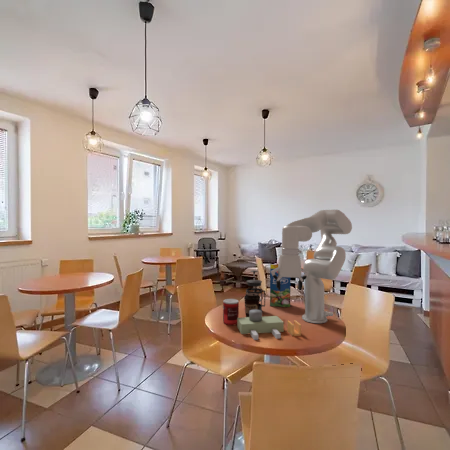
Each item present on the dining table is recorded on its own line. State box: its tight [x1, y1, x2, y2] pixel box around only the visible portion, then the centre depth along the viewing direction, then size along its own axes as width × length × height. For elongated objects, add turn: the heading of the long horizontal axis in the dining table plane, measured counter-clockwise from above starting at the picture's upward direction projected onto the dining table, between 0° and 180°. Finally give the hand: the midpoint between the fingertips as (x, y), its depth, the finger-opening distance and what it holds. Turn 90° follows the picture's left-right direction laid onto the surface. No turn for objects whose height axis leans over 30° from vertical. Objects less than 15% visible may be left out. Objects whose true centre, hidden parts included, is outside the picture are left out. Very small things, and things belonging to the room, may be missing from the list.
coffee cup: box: [243, 292, 261, 317], centre depth 148 cm, size 9×8×13 cm
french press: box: [245, 269, 266, 312], centre depth 161 cm, size 12×9×23 cm
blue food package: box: [269, 263, 291, 308], centre depth 172 cm, size 6×12×25 cm, turn 80°
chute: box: [286, 319, 302, 337], centre depth 128 cm, size 4×6×5 cm, turn 9°
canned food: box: [222, 298, 240, 326], centre depth 142 cm, size 8×8×11 cm
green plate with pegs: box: [236, 309, 285, 341], centre depth 129 cm, size 20×16×8 cm
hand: (289, 289), depth 130 cm, fingers open, 9 cm apart
